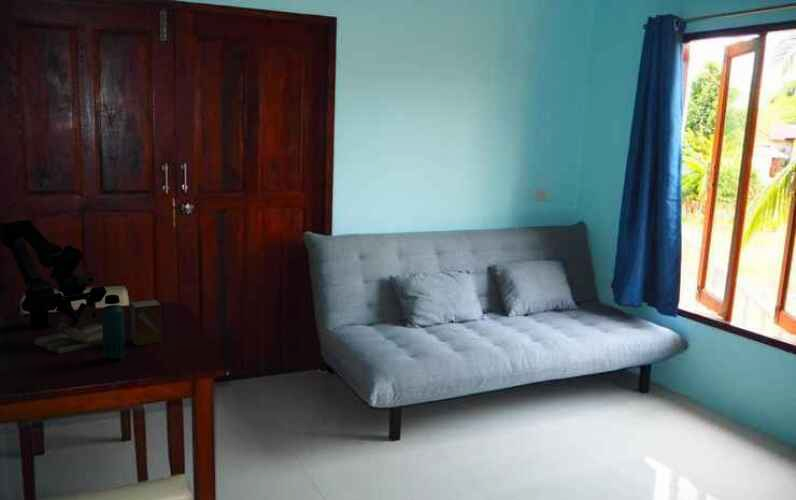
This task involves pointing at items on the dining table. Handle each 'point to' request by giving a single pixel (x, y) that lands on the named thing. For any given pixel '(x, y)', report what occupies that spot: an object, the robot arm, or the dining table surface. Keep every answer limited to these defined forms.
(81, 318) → the block
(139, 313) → the small box
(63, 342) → the board
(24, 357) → the dining table surface
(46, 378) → the dining table surface
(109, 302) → the beverage bottle
